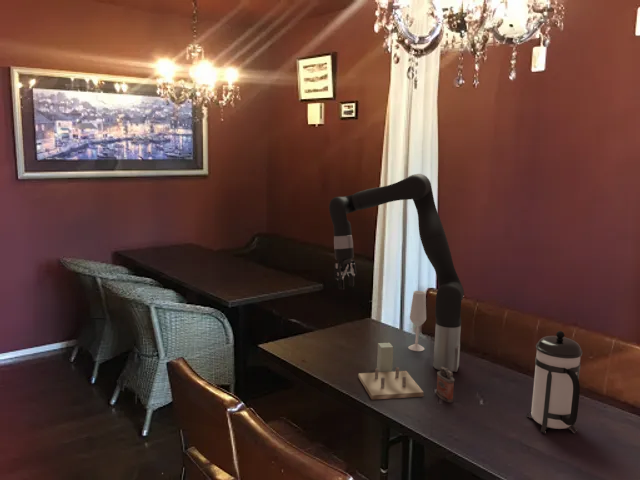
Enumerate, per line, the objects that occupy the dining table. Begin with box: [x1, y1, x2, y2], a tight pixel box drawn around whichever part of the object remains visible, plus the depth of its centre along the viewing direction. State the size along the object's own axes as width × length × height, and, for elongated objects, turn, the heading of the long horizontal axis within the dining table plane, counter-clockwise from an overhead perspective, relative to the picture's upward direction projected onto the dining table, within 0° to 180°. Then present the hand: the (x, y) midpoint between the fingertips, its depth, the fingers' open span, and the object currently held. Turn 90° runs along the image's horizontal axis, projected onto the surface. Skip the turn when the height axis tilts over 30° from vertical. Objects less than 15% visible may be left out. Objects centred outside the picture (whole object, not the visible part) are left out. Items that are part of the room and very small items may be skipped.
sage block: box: [376, 342, 394, 372], centre depth 210 cm, size 4×4×10 cm
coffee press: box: [526, 330, 583, 434], centre depth 168 cm, size 17×16×30 cm
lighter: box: [435, 367, 456, 403], centre depth 189 cm, size 8×3×10 cm, turn 21°
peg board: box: [357, 366, 424, 400], centre depth 196 cm, size 18×18×5 cm
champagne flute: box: [407, 290, 427, 352], centre depth 232 cm, size 7×7×24 cm
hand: (346, 287), depth 224 cm, fingers open, 8 cm apart
